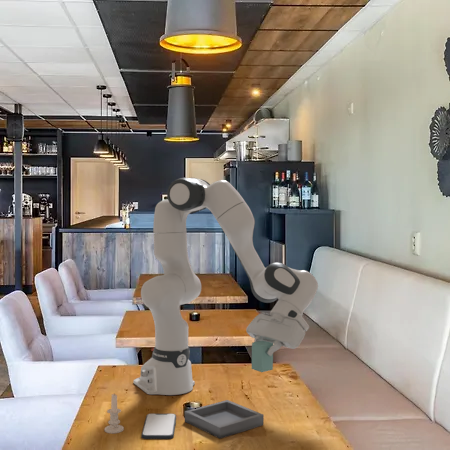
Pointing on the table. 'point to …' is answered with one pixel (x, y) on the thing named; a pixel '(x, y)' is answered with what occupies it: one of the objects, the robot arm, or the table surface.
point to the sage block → (261, 356)
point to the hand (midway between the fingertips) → (260, 352)
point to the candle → (114, 417)
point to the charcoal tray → (224, 418)
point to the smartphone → (159, 426)
